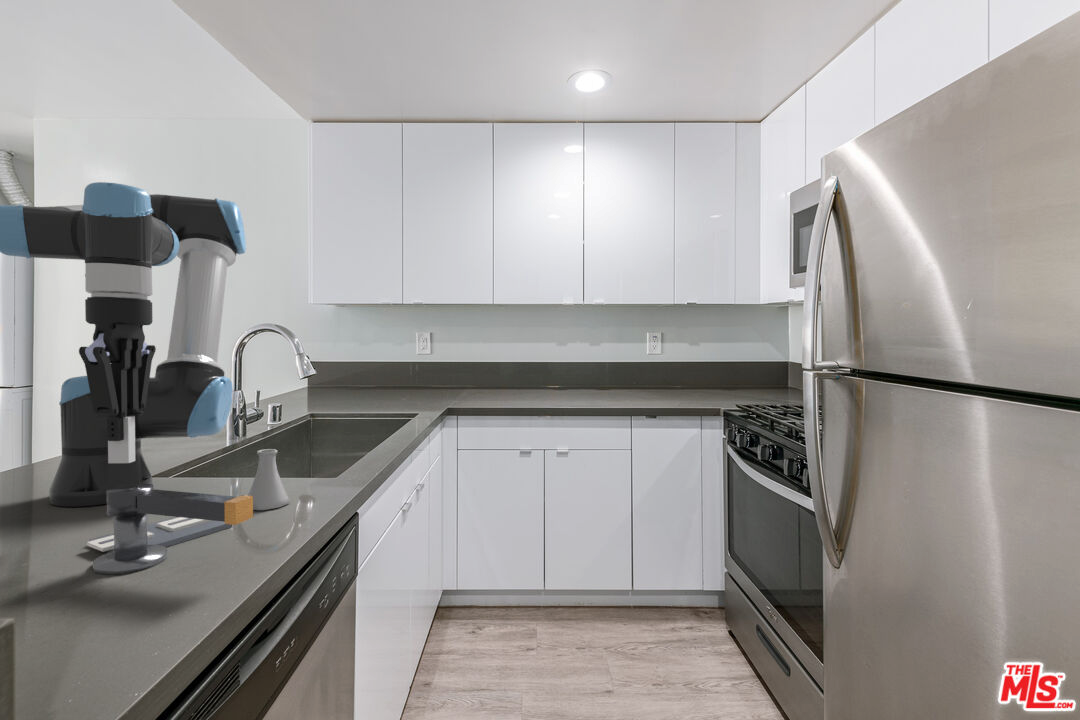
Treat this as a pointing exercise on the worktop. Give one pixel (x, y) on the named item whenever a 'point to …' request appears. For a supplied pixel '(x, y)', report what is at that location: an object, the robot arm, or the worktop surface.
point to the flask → (267, 483)
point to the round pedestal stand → (130, 548)
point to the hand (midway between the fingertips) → (122, 461)
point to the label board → (167, 532)
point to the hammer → (177, 504)
